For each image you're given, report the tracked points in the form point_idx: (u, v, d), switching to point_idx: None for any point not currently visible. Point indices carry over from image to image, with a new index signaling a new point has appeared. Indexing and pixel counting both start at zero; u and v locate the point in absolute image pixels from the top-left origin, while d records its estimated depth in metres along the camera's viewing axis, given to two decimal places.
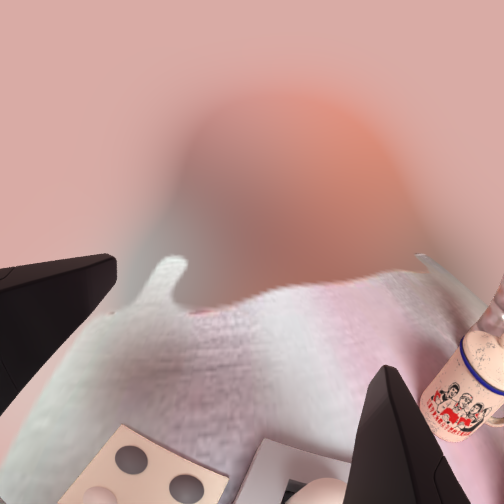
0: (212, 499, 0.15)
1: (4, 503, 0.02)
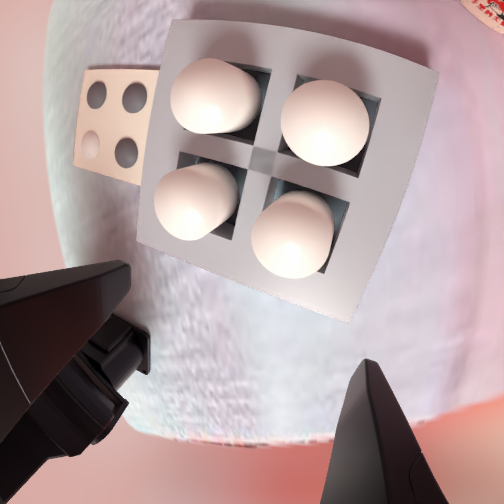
0: None
1: (4, 503, 0.02)
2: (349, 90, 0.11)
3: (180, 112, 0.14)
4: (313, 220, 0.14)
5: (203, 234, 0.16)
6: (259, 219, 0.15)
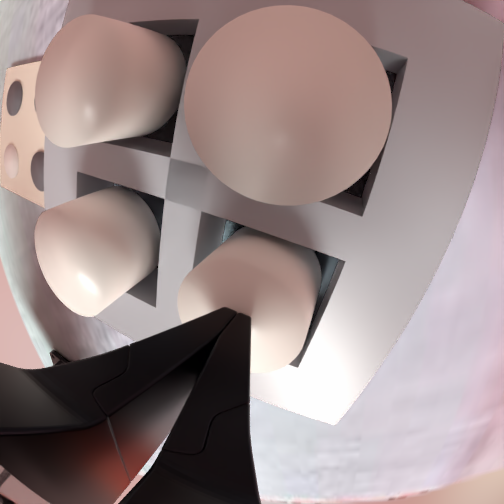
0: None
1: None
2: (339, 23, 0.04)
3: (44, 115, 0.07)
4: (275, 291, 0.08)
5: (96, 311, 0.09)
6: (186, 284, 0.09)
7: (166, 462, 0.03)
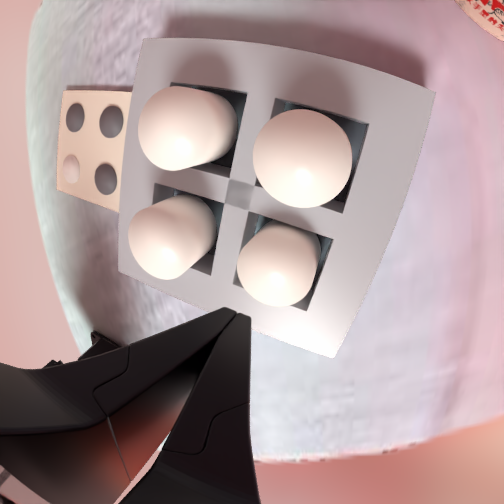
0: None
1: None
2: (329, 121, 0.11)
3: (148, 146, 0.13)
4: (296, 252, 0.15)
5: (178, 274, 0.16)
6: (244, 251, 0.16)
7: (166, 462, 0.03)
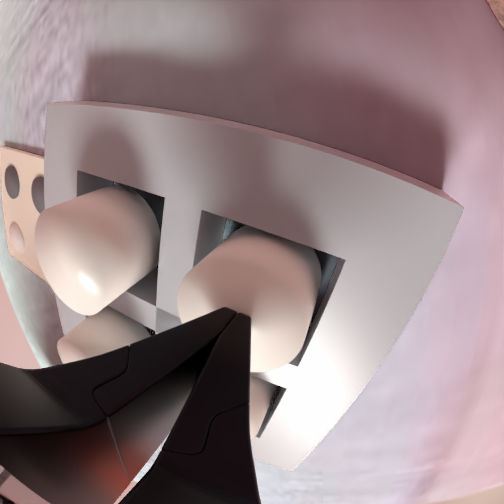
0: None
1: None
2: (275, 279, 0.08)
3: (50, 277, 0.10)
4: None
5: None
6: None
7: (166, 462, 0.03)
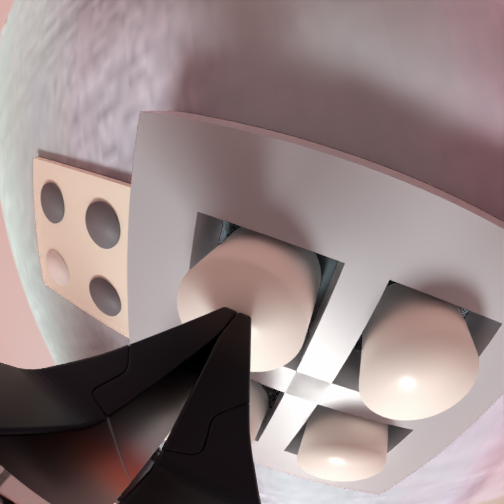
0: None
1: None
2: (469, 346, 0.07)
3: None
4: (372, 454, 0.10)
5: None
6: (309, 448, 0.10)
7: (166, 462, 0.03)
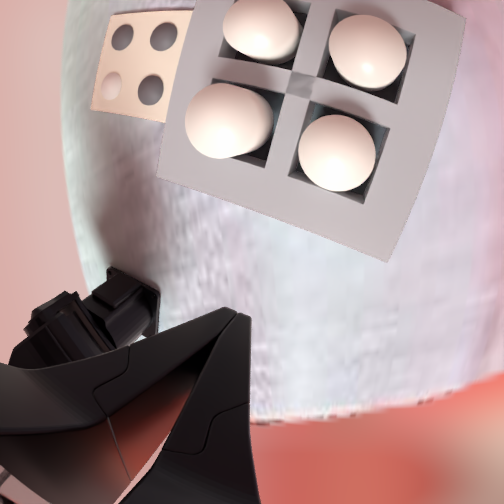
0: None
1: None
2: (388, 24, 0.11)
3: (232, 36, 0.14)
4: (359, 131, 0.14)
5: (238, 150, 0.15)
6: (307, 131, 0.15)
7: (166, 462, 0.03)
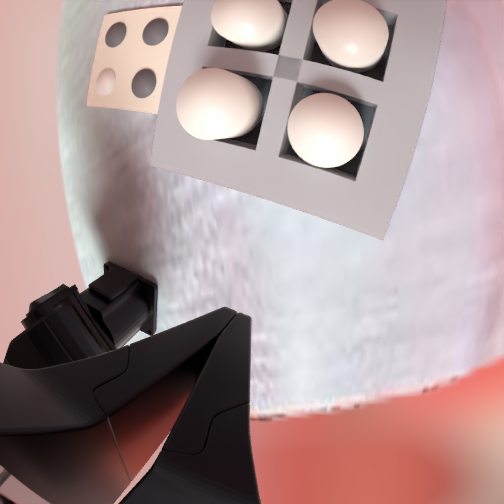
0: (175, 30, 0.17)
1: None
2: (369, 5, 0.11)
3: (220, 25, 0.14)
4: (346, 108, 0.14)
5: (228, 130, 0.15)
6: (295, 110, 0.15)
7: (166, 462, 0.03)
